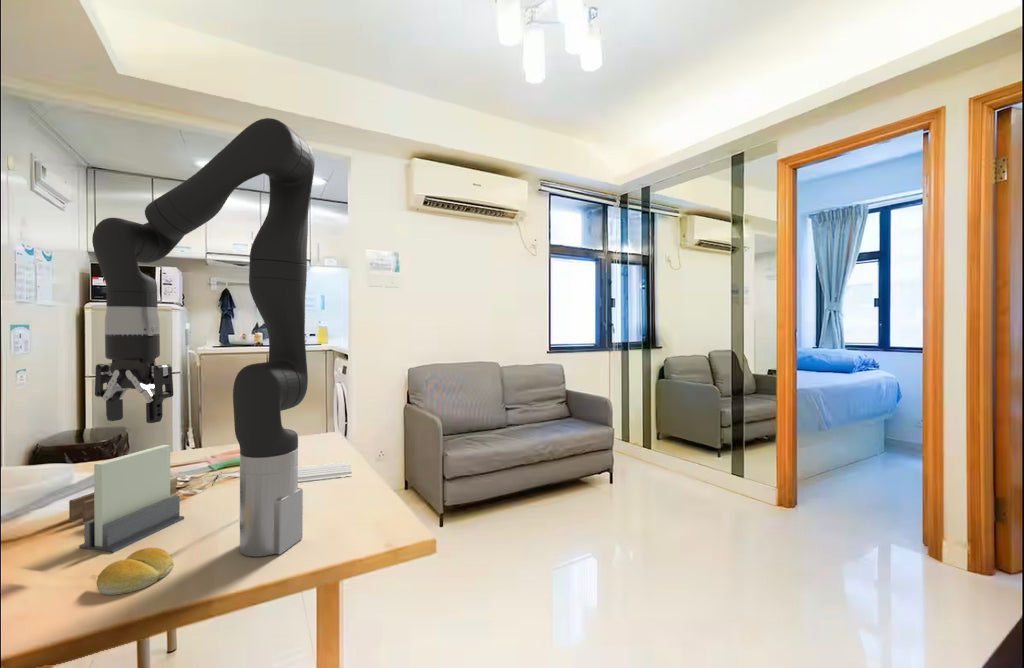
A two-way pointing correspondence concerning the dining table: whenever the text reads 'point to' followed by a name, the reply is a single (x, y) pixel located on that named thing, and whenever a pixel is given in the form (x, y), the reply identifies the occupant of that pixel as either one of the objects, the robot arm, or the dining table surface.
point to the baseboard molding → (316, 472)
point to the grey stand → (133, 526)
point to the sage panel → (129, 485)
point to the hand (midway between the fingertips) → (134, 421)
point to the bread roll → (135, 571)
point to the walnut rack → (84, 508)
